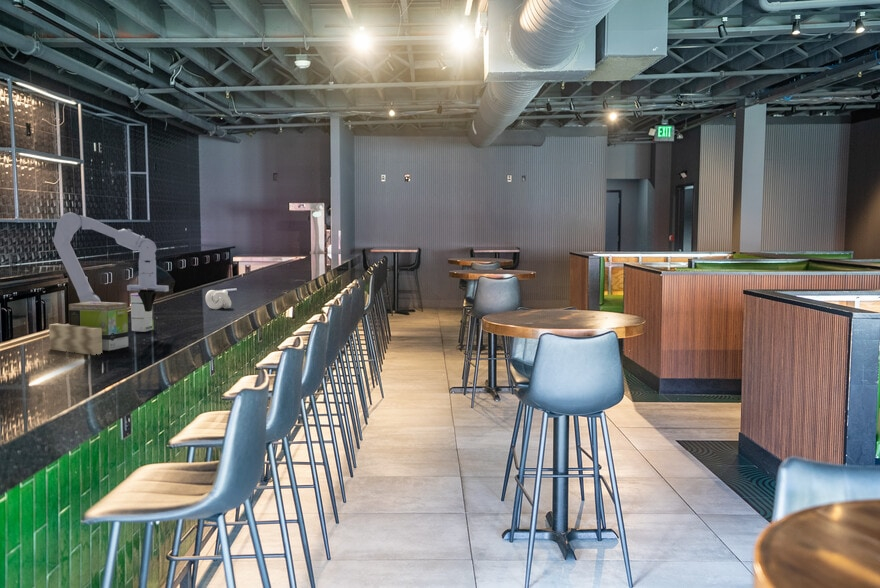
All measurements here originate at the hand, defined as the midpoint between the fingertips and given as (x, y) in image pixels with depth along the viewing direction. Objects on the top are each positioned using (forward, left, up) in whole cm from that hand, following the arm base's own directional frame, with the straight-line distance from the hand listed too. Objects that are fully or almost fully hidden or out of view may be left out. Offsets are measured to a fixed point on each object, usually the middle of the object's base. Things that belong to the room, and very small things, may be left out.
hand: (148, 311), depth 257 cm
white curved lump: (-40, +81, -10) cm, 91 cm away
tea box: (+3, -23, -10) cm, 25 cm away
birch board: (+3, -32, -9) cm, 34 cm away
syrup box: (-15, +11, -10) cm, 21 cm away
